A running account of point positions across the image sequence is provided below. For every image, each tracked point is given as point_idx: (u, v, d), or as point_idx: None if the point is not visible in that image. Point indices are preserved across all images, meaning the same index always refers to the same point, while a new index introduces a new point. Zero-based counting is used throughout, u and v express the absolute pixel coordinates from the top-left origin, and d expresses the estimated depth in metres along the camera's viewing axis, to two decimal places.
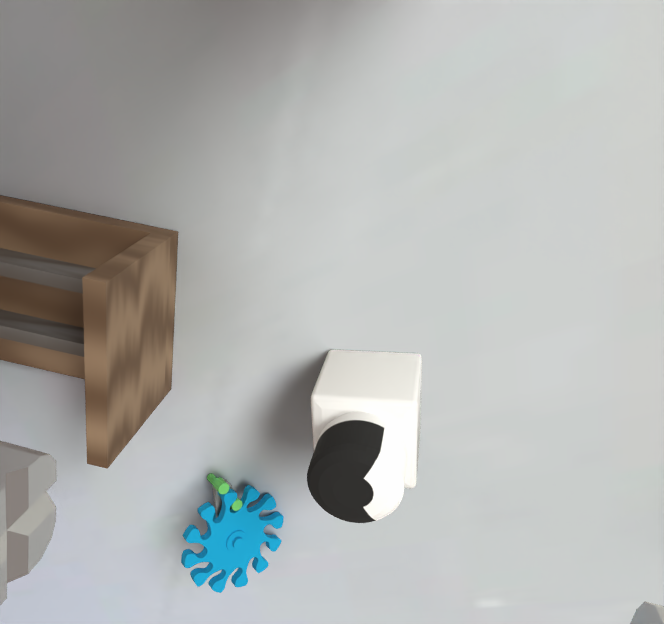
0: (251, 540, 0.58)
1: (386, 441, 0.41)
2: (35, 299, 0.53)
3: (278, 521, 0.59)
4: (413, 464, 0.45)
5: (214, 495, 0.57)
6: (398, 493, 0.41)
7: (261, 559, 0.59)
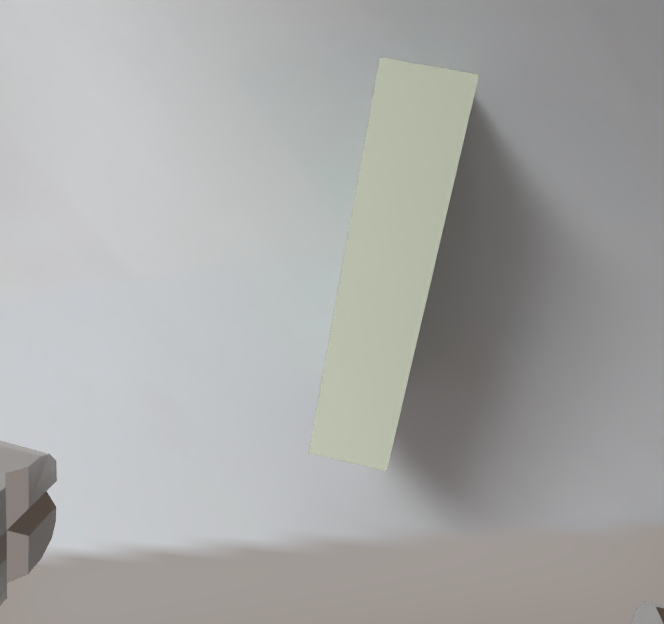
0: None
1: None
2: None
3: None
4: None
5: None
6: None
7: None
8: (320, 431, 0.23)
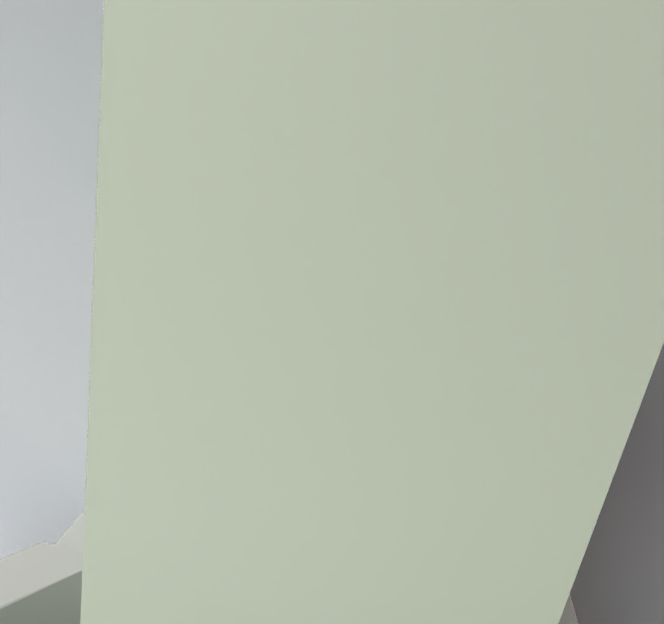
0: None
1: None
2: None
3: None
4: None
5: None
6: None
7: None
8: None
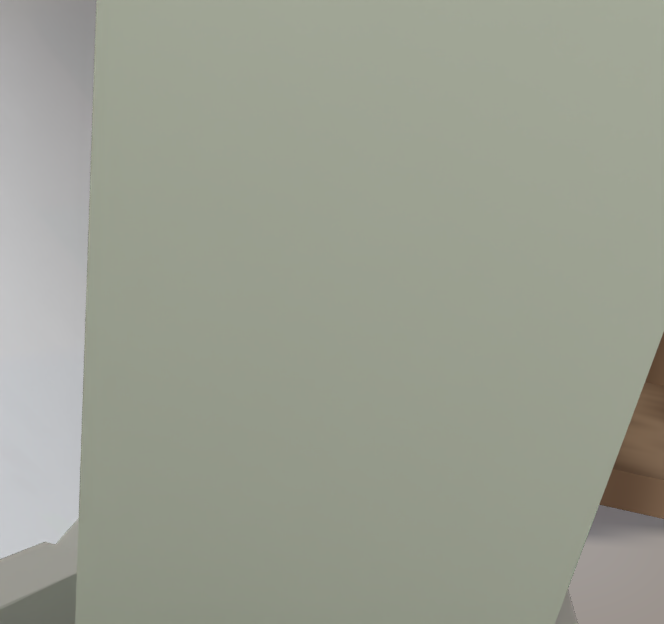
0: None
1: None
2: None
3: None
4: None
5: None
6: None
7: None
8: None
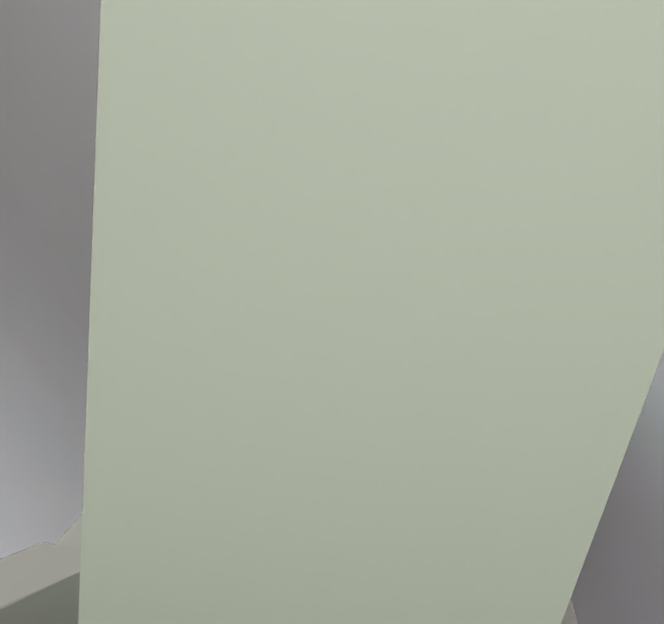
0: None
1: None
2: None
3: None
4: None
5: None
6: None
7: None
8: None
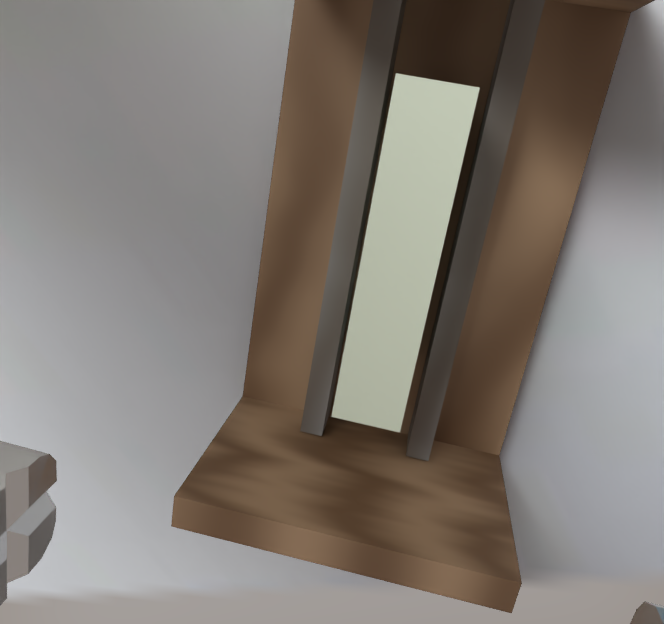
0: None
1: None
2: None
3: None
4: None
5: None
6: None
7: None
8: (341, 397, 0.26)
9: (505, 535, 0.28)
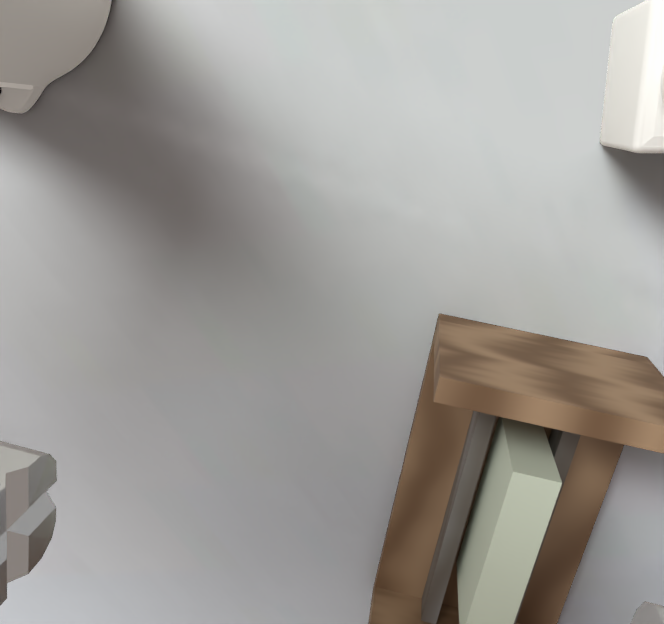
0: None
1: None
2: None
3: None
4: None
5: None
6: None
7: None
8: None
9: None
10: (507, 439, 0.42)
